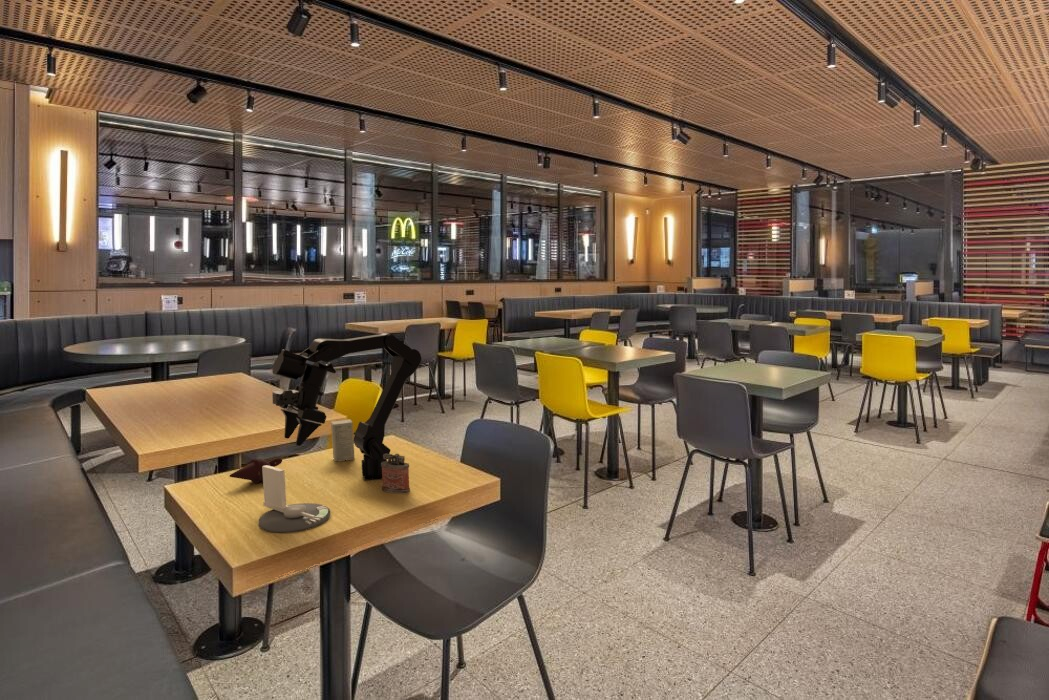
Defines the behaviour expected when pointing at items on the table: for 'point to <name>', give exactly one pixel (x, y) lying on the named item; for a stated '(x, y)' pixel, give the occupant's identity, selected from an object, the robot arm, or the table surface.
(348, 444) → the skincare box
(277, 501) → the rotary selector knob
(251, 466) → the maroon gnome figurine
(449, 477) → the table surface
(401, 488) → the lighter
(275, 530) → the tuner dial
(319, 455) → the table surface
